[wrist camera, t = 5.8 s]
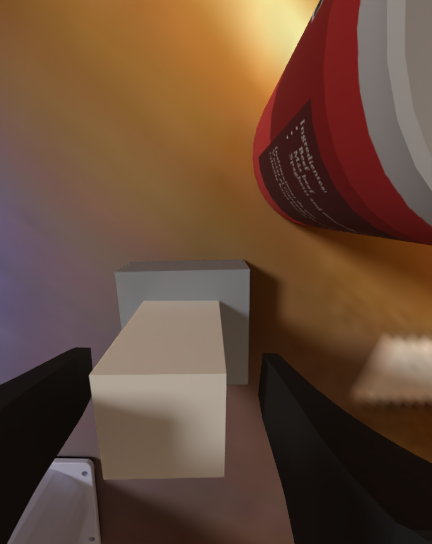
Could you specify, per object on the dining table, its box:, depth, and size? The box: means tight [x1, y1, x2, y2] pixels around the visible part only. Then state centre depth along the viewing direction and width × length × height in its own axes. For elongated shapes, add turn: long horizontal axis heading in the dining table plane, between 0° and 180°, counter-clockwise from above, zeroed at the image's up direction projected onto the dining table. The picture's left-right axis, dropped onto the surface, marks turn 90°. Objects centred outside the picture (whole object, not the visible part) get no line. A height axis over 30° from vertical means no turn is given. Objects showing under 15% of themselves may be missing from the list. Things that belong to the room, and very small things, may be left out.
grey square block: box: [115, 260, 250, 385], centre depth 15 cm, size 7×7×3 cm
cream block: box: [89, 301, 226, 480], centre depth 10 cm, size 4×4×6 cm
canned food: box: [253, 0, 432, 245], centre depth 8 cm, size 8×8×11 cm
